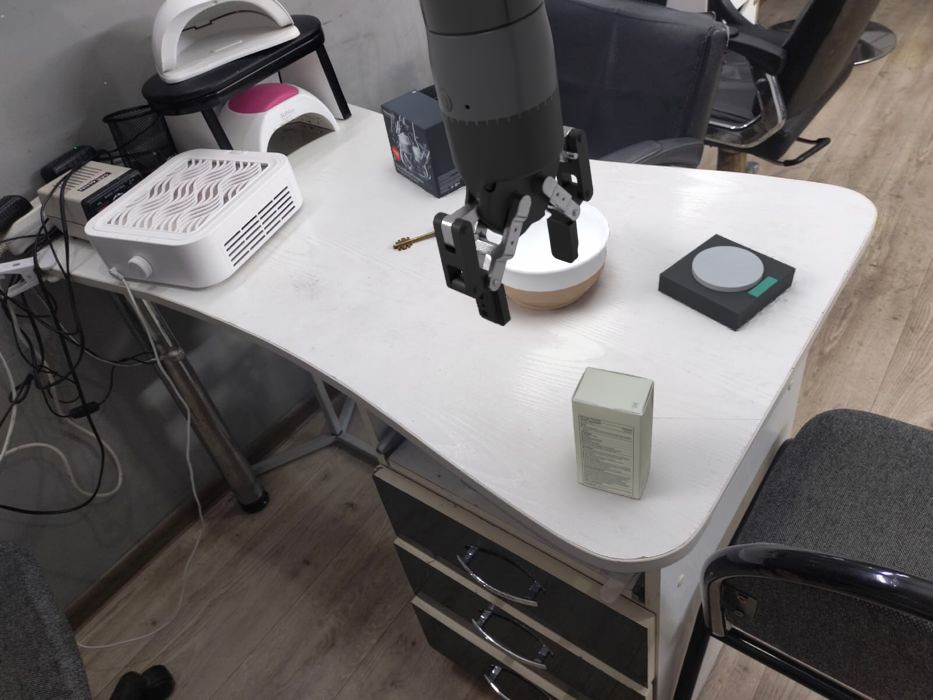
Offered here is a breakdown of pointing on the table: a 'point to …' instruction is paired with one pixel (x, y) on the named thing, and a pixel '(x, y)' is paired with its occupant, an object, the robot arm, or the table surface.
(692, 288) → the scale
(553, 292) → the bowl
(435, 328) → the table surface
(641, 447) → the cosmetic box
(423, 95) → the small box
